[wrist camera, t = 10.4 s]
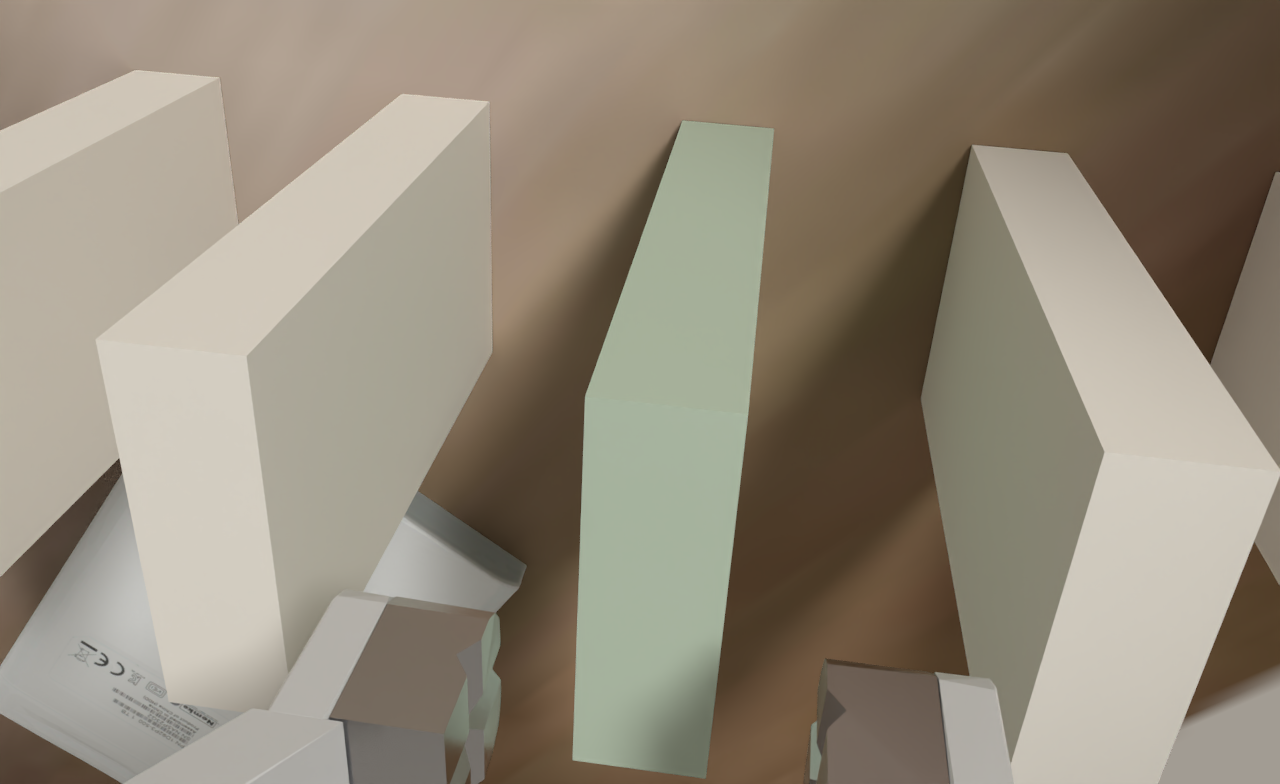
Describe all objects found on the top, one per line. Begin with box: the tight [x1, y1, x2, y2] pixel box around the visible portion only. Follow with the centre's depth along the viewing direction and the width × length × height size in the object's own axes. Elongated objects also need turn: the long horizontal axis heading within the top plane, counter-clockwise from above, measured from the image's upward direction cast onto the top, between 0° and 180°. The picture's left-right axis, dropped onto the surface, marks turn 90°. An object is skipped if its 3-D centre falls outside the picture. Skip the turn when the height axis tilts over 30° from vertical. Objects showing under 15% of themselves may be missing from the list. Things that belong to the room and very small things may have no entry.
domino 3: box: [921, 145, 1280, 784], centre depth 16 cm, size 2×5×10 cm, turn 177°
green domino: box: [573, 121, 774, 779], centre depth 17 cm, size 2×5×10 cm, turn 177°
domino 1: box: [0, 70, 238, 577], centre depth 17 cm, size 2×5×10 cm, turn 177°
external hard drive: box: [0, 473, 527, 784], centre depth 27 cm, size 2×8×12 cm
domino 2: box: [95, 94, 492, 713], centre depth 17 cm, size 2×5×10 cm, turn 177°
